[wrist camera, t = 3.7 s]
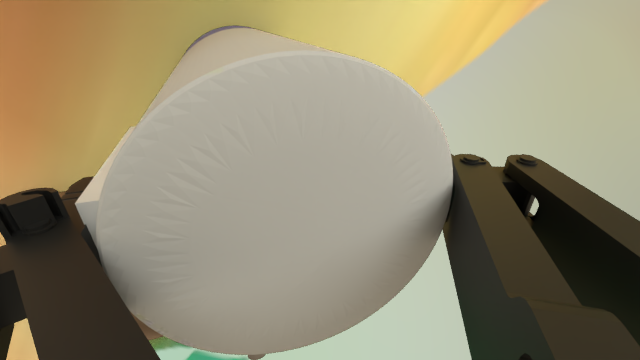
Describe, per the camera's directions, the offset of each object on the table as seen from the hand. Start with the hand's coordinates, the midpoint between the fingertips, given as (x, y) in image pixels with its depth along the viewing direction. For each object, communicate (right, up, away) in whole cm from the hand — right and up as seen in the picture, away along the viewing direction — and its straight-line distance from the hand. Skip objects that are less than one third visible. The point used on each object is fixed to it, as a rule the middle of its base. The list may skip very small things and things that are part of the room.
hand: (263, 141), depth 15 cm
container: (-4, +5, +10) cm, 12 cm away
